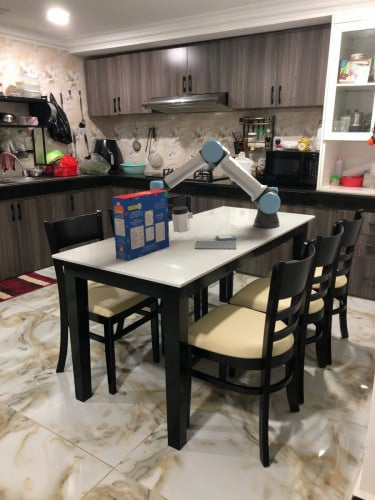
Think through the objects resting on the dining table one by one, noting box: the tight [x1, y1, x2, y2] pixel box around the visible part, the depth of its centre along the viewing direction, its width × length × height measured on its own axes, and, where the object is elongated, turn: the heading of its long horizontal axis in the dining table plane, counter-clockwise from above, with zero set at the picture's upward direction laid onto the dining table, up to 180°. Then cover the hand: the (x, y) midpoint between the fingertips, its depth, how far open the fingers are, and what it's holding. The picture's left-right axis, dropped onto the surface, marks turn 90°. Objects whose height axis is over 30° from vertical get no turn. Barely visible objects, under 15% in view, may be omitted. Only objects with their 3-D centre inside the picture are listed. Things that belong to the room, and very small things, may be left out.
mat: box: [194, 240, 237, 250], centre depth 194 cm, size 20×14×1 cm
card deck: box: [215, 234, 237, 241], centre depth 205 cm, size 9×6×2 cm
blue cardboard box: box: [111, 189, 170, 262], centre depth 181 cm, size 28×8×28 cm, turn 142°
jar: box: [171, 205, 191, 234], centre depth 202 cm, size 9×8×12 cm
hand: (190, 216), depth 201 cm, fingers closed on jar
